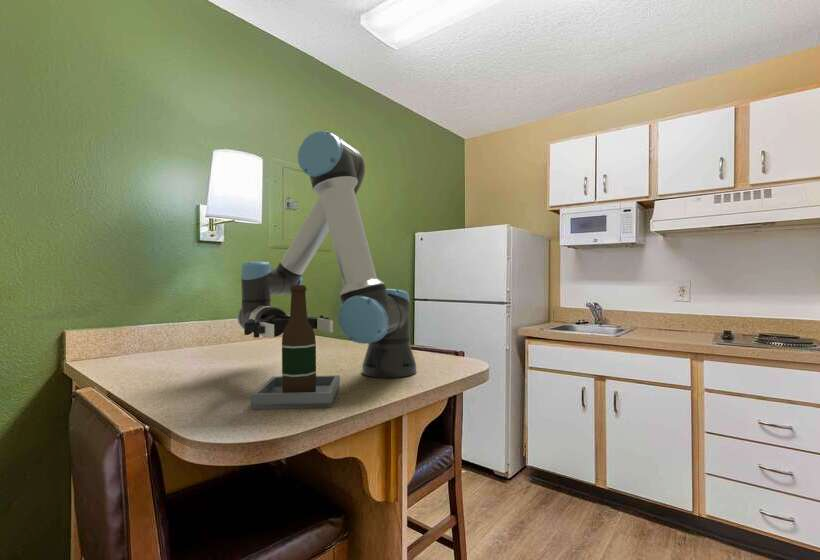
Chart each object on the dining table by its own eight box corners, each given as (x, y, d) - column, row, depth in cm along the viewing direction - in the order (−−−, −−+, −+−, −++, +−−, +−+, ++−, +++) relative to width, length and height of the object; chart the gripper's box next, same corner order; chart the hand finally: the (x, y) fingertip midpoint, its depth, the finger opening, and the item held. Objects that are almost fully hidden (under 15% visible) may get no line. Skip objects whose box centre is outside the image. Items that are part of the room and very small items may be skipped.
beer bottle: (321, 388, 98) (320, 284, 98) (310, 398, 90) (309, 285, 90) (289, 388, 99) (288, 285, 98) (275, 397, 91) (274, 285, 91)
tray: (339, 387, 103) (339, 375, 103) (330, 407, 87) (330, 393, 87) (272, 388, 102) (272, 376, 102) (251, 409, 86) (251, 394, 86)
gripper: (313, 331, 117) (353, 340, 100) (217, 340, 101) (244, 352, 85) (313, 304, 117) (352, 308, 100) (216, 309, 101) (244, 314, 85)
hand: (303, 328), depth 92 cm, fingers open, 13 cm apart
